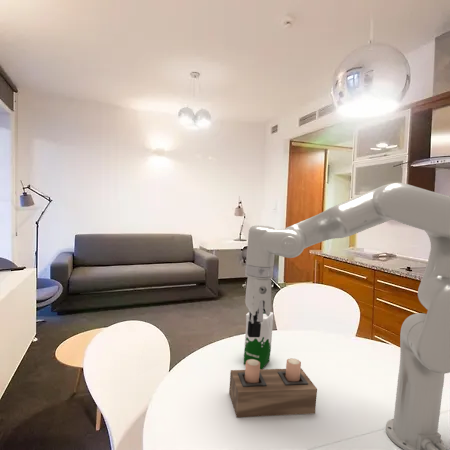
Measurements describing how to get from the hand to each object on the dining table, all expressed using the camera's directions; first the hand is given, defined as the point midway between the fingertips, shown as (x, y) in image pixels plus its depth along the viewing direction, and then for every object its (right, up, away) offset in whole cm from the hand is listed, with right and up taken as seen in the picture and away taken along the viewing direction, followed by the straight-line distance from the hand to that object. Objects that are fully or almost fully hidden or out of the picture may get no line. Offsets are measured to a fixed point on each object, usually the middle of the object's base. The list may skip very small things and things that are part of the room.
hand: (253, 335), depth 92 cm
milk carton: (+3, -18, +25) cm, 31 cm away
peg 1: (-1, -15, +1) cm, 15 cm away
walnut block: (+5, -20, +2) cm, 21 cm away
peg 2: (+11, -15, +3) cm, 19 cm away
